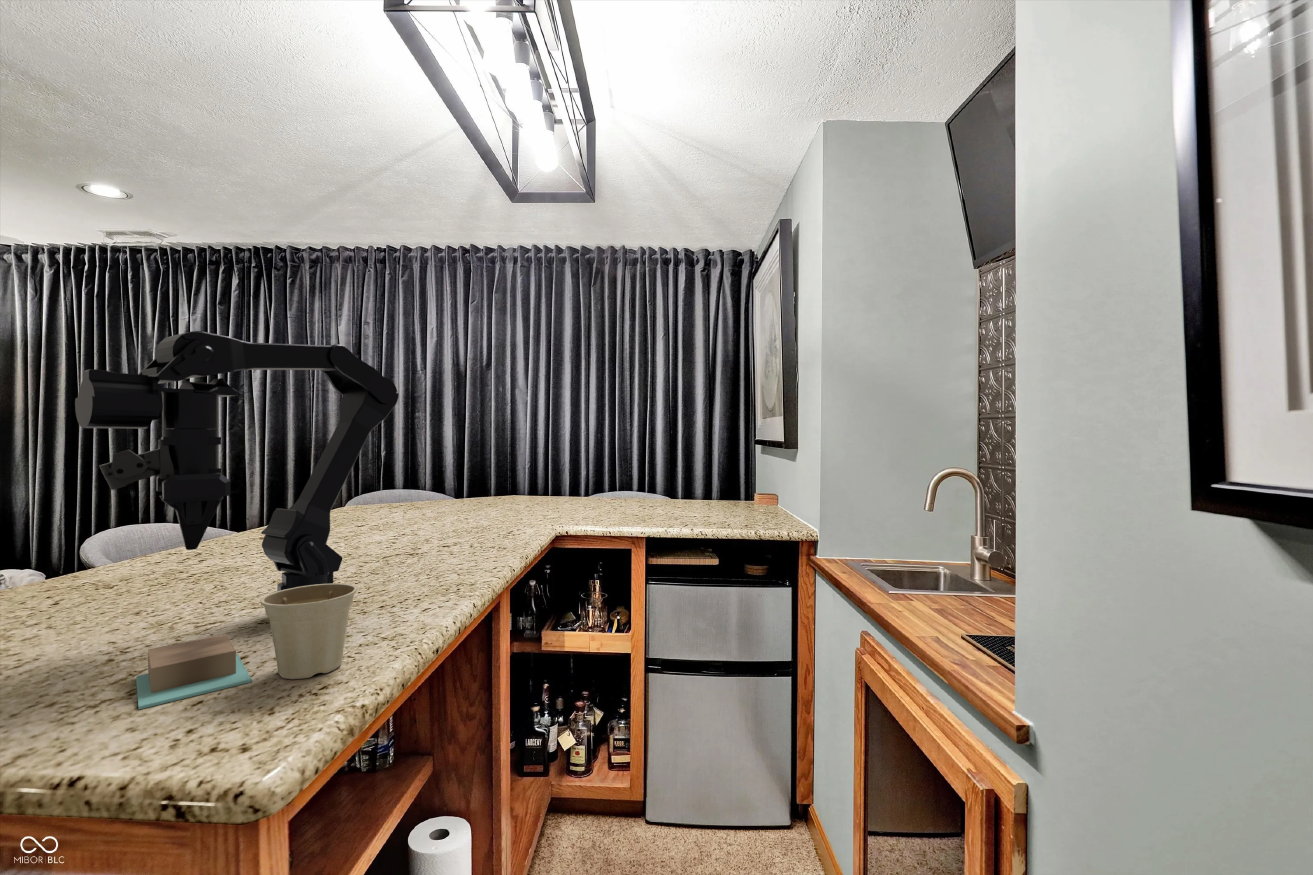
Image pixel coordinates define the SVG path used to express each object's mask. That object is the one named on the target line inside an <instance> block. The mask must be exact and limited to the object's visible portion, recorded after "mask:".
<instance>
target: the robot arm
mask: <svg viewBox="0 0 1313 875" xmlns="http://www.w3.org/2000/svg"><path fill="white" fill-rule="evenodd" d="M154 356H155V358H153V360H152V361H151V362H149V363H148V364H147V365H146V366H145V367H144V368H142V370H141V371H140V372H139V373H138V374H137V373H124V372H113V371H109V370H105V369H94V368H91V369H86V370H84V371H83V373H82V376H83V377H82V381H81V383H80V386H79V389H78V393H77V397H75V399H74V407H75V408H74V409H75V417H76V419H77V423H78V425H79V427H81V428H83V429H137V430H138V429H139V430H141V429H145V430H146V429H148V428H149V427H150V426H151V424H152V422H157V421H159V420H160V419H161V423H162V424H161V437H160V439H158V440H157V448H155V449H152V450H149V451H145V452H141V453H139V454H137V453H135V452H134V451H132V450H131V449H126V450H123V451H118V452H115V453H113V456H112V460H111V461H110V462H107V463H104V464H99V465H98V467H99V469H100V470H101V473H102V475H103V477H104V479H105V480H106V482H107V484H108V486H109V489H110V490H111V491H114V490H118V489H121V488H124V487H127V486H128V485H129V484H132V483H135V482H140V481H141V480H144V479H148V478H151V477H153V476H156V483H155V484H156V488H155V489H156V492H158V493H159V492H162V494H161V495H159V498H160V499H161V501H162V502H164V504H166V505H168V506H170V507H171V508H173V509H174V510H175V513H176V514H175V515H176V516H177V521H178V525H179V528H180V532H181V536H182V541H183V543H184V547H185V550H186V551H193V550H197V549H198V547H199V545H200V544H201V541H202V539H203V537H204V536H205V533H206V531H207V529H208V527H209V526H210V524H211V521H212V519H213V517H214V515H215V513H216V511H217V510H218V508H219V505H220V503H221V502H222V500H223V499H224V497H230V496H231V480H230V479H229V478H227V477H226V476H225V475H224V474H223V473H222V468H221V467H220V445H222V437H221V436H220V418H219V417H220V406H219V405H220V402H219V401H220V399H219V398H220V397H221V398H225V397H226V398H227V397H236V396H238V394H239V392H238V390H236V389H235V388H234V387H233V386H231V385H229V384H228V383H227V382H226V380H225V379H224V378H223V377H219V378H214V379H213V380H212V381H211V382H196V381H184V382H183V383H182V384H181V385H180V386H179V388H171V387H159V384H166V383H174V382H175V383H176V382H181V381H183V380H185V379H192V378H201V377H206V376H208V377H209V376H214V375H221V374H227V373H232V372H238V371H250V370H251V371H259V370H260V371H304V370H305V371H309V370H310V371H321V372H322V373H323V374H324V375H325V376H326V379H327V380H328V381H329V383H330V385H331V386H332V388H333V389H334V390H335V391H337V393H338V394H340V395H341V399H340V402H339V404H338V406H339V420H338V423H337V426H335V427H336V428H335V429H334V431H333V433H332V435H331V437H330V439H329V441H328V442H327V444H326V446H325V448H324V450H323V452H322V453H321V456H320V458H319V459H318V461H317V463H316V465H315V467H314V469H313V471H312V473H311V474H310V476H309V479H307V482H306V484H305V486H304V487H303V490H302V492H301V493H300V495H299V497H298V499H297V500H296V501H295V502H294V503H293V504H292V505H291V506H290V507H289V508H287V509H285V508H280V507H279V508H278V507H277V508H276V509H275V510H274V511H273V512H272V515H271V518H270V521H269V523H268V525H267V526H266V527H265V528H264V529H263V530H262V531H261V533H260V534H261V535H264V536H263V539H262V542H261V549H263V550H262V551H263V553H264V556H266V557H267V558H268V559H269V560H270V561H272V562H273V564H274V566H275V568H276V570H277V572H281V582H279V583H278V584H277V591H281V590H285V589H290V588H295V587H301V586H308V585H317V584H332V583H334V573H335V572H339V570H340V566H341V564H342V562H343V556H341V555H340V554H339V553H338V552H336V551H335V550H334V549H333V548H331V546H329V545H328V544H327V543H328V540H329V536H330V534H331V511H332V509H333V507H334V505H335V503H336V501H337V499H338V496H339V495H340V492H341V490H342V488H344V485H345V483H346V482H347V479H348V476H349V475H350V473H351V471H352V469H353V467H354V465H355V463H356V462H357V459H358V457H359V455H360V453H361V451H362V449H363V447H364V445H365V443H366V441H367V439H368V437H369V435H370V433H371V432H372V431H373V429H374V428H376V427H377V426H378V425H380V424H381V423H382V422H383V421H384V420H385V419H387V418H388V416H389V414H390V413H391V411H392V410H393V409H394V408H395V406H396V405H397V404H398V401H399V397H400V396H399V395H400V394H399V392H398V390H397V386H396V384H395V383H394V381H392V379H390V378H387V377H386V376H383V374H382V373H381V372H380V371H379V370H378V369H376V368H374V367H373V366H372V365H371V364H368V363H367V362H365V361H363V360H362V359H360V358H359V357H357V356H356V355H355V354H354V353H353V352H351V350H349V348H347V347H346V346H343V344H338V343H337V344H336V343H334V344H329V345H326V344H325V345H324V344H323V345H322V344H297V343H296V344H294V343H274V342H273V343H272V342H271V343H268V342H250V341H245V340H241V339H237V338H234V337H231V336H227V335H223V334H218V333H211V332H207V331H202V330H201V331H199V330H194V331H193V330H192V331H188V332H183V333H178V334H176V335H175V334H174V335H171V336H169V337H168V336H167V337H164V338H163V339H162V340H161V341H160V342H159V343H158V345H157V346H156V348H155V355H154ZM277 591H276V592H277Z"/></svg>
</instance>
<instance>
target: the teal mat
mask: <svg viewBox="0 0 1313 875" xmlns="http://www.w3.org/2000/svg"><path fill="white" fill-rule="evenodd" d="M135 680H136V681H135V682H136V692H137V706H138V708H137V709H138V710H143V709H147V708H152V707H155V706H159V705H164V704H167V703H171V702H176V701H180V700H184V699H187V698H191V697H196V696H199V695H200V696H201V695H204V694H208V693H212V692H216V691H220V690H225V689H227V688H231V687H236V686H241V685H245V684H248V683H252V678H251V675H250V674H249V672H248V670H247V669H246V667H245V664H244V663H243V661H242V659H241V658H240V656H239V654H238V653H236V673H235V674H230V675H226V676H222V677H218V678H213V679H209V680H205V681H200V682H196V683H192V684H188V685H183V686H179V687H175V688H171V689H166V690H162V691H158V692H153V693H151V688H150V681H149V674H148V673H144V674H140V675H136V676H135Z"/></svg>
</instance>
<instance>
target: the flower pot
mask: <svg viewBox="0 0 1313 875" xmlns="http://www.w3.org/2000/svg"><path fill="white" fill-rule="evenodd" d="M357 592H358V587H357V586H356V585H354V584H350V583H336V582H335V583H334V582H333V583H332V584H317V585H308V586H301V587H295V588H290V589H285V590H281V591H275V592H271V593H269V594H267V595H264V596H263V597H262V598H261V599H260V600H259V602H260V605H261V606H262V607H264V612H265V615H266V617H267V618H268V619H269V625H270V630H271V635H272V636H271V637H272V642H273V648H274V653H275V660H276V666H277V667H276V668H277V673H278V674H279V676H280V677H281V678H282V679H286V680H287V679H288V680H302V679H303V680H304V679H308V678H311V677H313V676H314V675H316V674H320V673H322V674H327V673H329V672H330V673H331V672H333V671H334V670H336V669H338V668H339V667H340V666H341V665H342V663H343V656H344V649H345V641H346V633H347V627H348V619H349V614H350V608H351V606H352V605H353V603H354V596H355V594H357Z"/></svg>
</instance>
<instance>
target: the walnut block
mask: <svg viewBox="0 0 1313 875" xmlns="http://www.w3.org/2000/svg"><path fill="white" fill-rule="evenodd" d="M236 654H237V650H236V648H235V647H234V645H233V643H232V642H231V639H230V638H229V636H228V635H227V634H226V633H225V634H220V635H214V636H210V637H204V638H199V639H195V640H193V639H192V640H188V641H184V642H183V641H182V642H179V643H174V644H167V645H163V646H158V647H152V648H148V649H147V659H148V661H147V663H148V664H147V674H149V681H150V688H151V693H153V692H158V691H162V690H166V689H171V688H175V687H179V686H183V685H188V684H192V683H196V682H200V681H205V680H209V679H213V678H218V677H222V676H226V675H230V674H235V673H236Z"/></svg>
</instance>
